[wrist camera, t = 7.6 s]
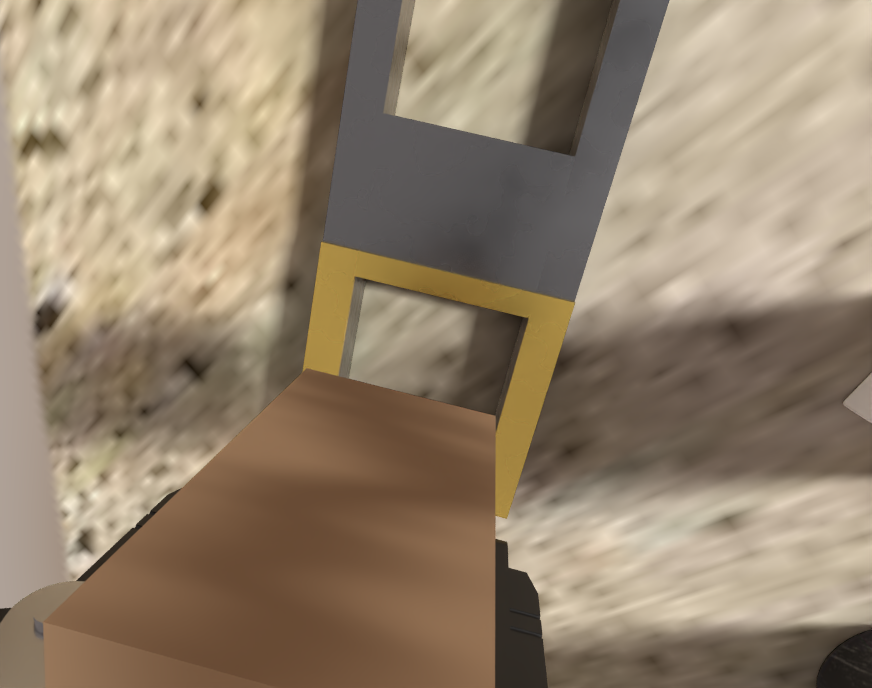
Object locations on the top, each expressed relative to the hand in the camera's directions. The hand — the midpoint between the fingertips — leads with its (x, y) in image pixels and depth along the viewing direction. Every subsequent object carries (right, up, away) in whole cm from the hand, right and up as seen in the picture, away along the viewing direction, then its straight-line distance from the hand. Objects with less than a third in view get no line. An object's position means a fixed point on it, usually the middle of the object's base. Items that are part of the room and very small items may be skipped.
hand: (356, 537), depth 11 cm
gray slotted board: (+3, +10, +10) cm, 14 cm away
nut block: (0, +1, +3) cm, 3 cm away
